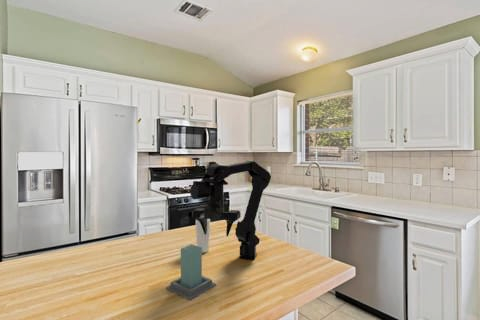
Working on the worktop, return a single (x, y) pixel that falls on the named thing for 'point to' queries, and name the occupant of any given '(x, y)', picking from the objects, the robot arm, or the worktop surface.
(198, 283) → the teal block
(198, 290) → the socket holder
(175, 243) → the worktop surface
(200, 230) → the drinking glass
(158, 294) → the worktop surface
